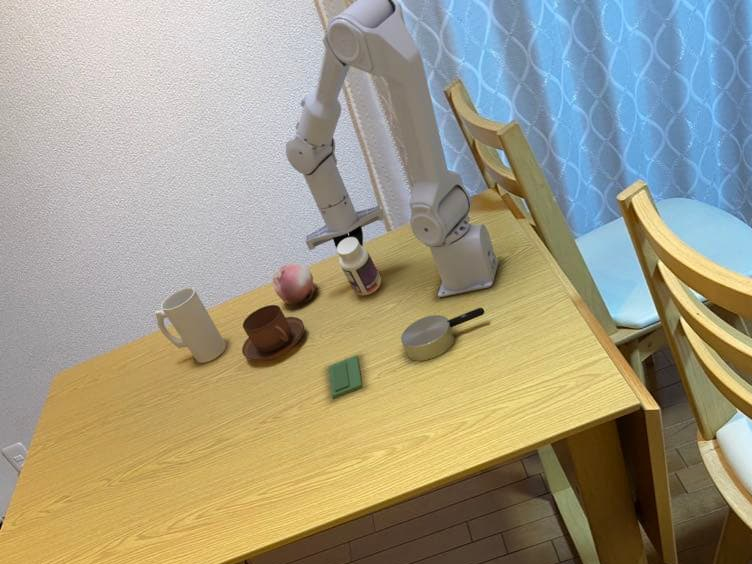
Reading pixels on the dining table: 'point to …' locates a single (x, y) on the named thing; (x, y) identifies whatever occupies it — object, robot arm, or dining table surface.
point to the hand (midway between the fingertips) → (362, 268)
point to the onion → (294, 284)
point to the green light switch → (345, 377)
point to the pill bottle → (358, 266)
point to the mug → (191, 325)
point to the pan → (433, 335)
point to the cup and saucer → (270, 333)
